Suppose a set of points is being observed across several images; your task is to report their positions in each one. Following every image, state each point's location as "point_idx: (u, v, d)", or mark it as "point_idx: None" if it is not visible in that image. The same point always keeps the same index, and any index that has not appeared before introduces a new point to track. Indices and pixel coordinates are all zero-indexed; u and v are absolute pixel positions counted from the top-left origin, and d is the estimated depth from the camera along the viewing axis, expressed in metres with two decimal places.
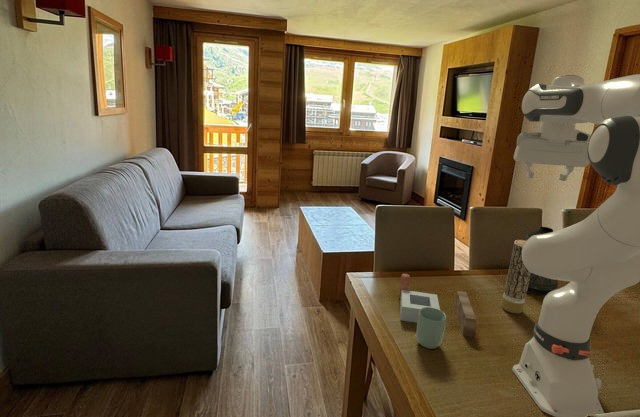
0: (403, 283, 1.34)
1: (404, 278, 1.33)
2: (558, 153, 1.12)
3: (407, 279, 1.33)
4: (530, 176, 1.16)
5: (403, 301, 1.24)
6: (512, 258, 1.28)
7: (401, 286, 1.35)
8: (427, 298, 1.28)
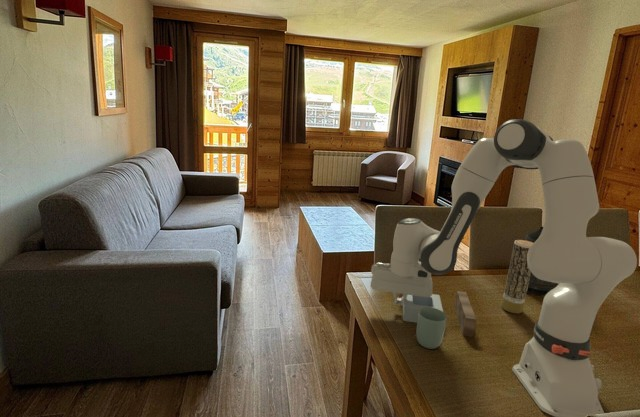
0: None
1: None
2: (405, 285, 1.23)
3: None
4: (396, 303, 1.26)
5: (406, 301, 1.24)
6: (512, 258, 1.28)
7: None
8: (429, 298, 1.28)
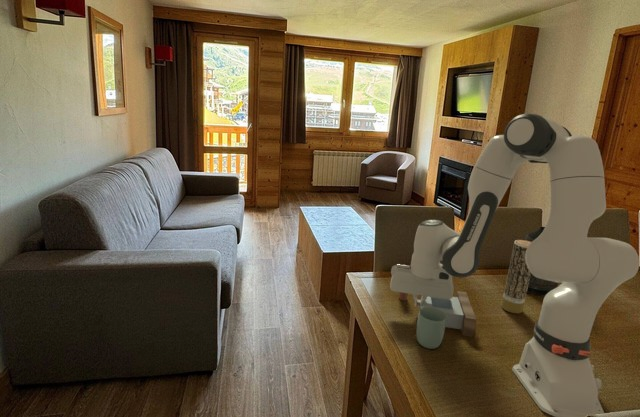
0: None
1: None
2: (425, 287, 1.22)
3: None
4: (416, 305, 1.25)
5: (425, 304, 1.23)
6: (512, 258, 1.28)
7: None
8: (448, 301, 1.27)
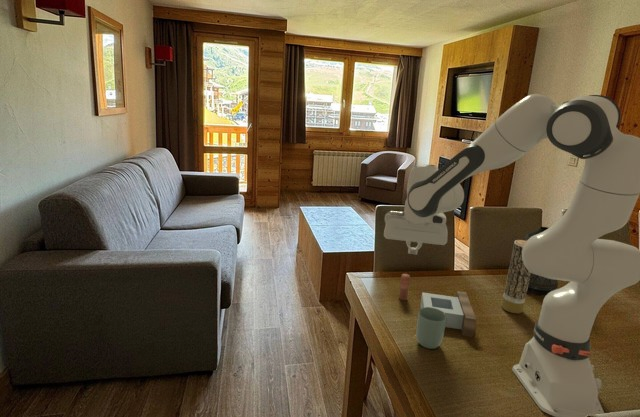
0: (403, 283, 1.34)
1: (404, 278, 1.33)
2: (419, 232, 1.21)
3: (407, 279, 1.33)
4: (410, 253, 1.24)
5: (425, 304, 1.23)
6: (512, 258, 1.28)
7: (401, 286, 1.35)
8: (448, 301, 1.27)
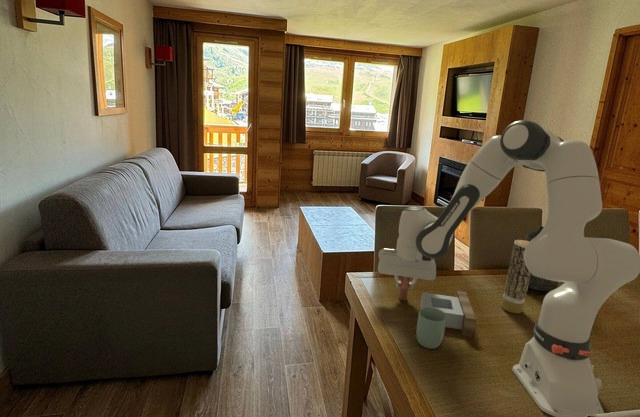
0: (403, 283, 1.34)
1: (404, 278, 1.33)
2: (410, 268, 1.32)
3: (407, 279, 1.33)
4: (397, 286, 1.35)
5: (425, 304, 1.23)
6: (512, 258, 1.28)
7: (401, 286, 1.35)
8: (448, 301, 1.27)
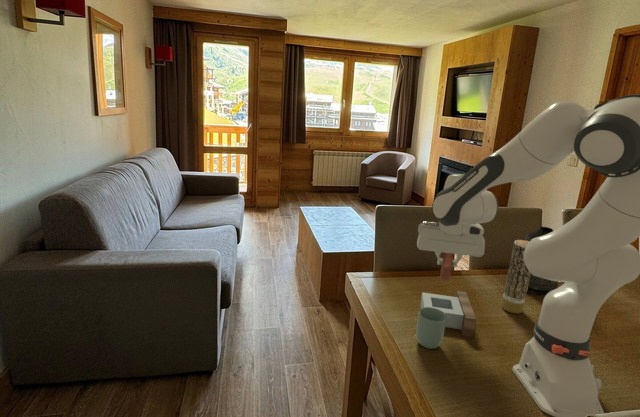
0: (446, 260, 1.19)
1: (447, 255, 1.19)
2: (455, 244, 1.17)
3: (451, 256, 1.19)
4: (439, 264, 1.20)
5: (425, 304, 1.23)
6: (512, 258, 1.28)
7: (443, 264, 1.20)
8: (448, 301, 1.27)
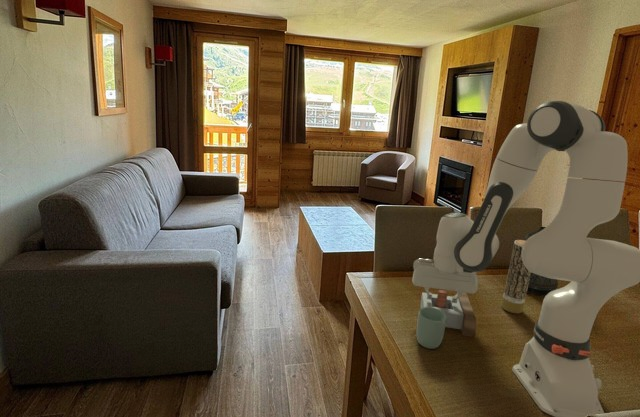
0: (440, 300, 1.23)
1: (441, 295, 1.22)
2: (449, 280, 1.20)
3: (444, 296, 1.22)
4: (428, 298, 1.24)
5: (425, 304, 1.23)
6: (512, 258, 1.28)
7: (438, 304, 1.24)
8: (448, 301, 1.27)
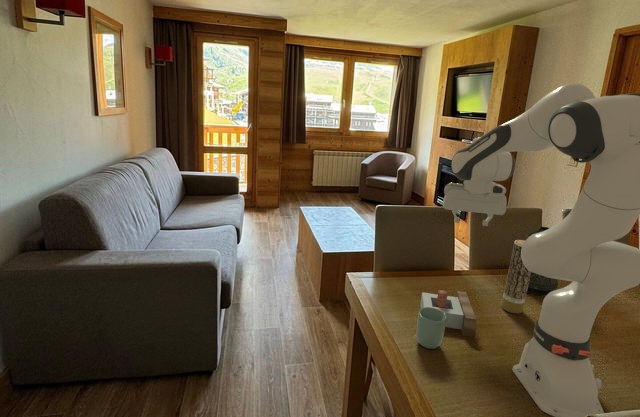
0: (440, 300, 1.23)
1: (441, 295, 1.22)
2: (478, 203, 1.27)
3: (445, 296, 1.22)
4: (456, 222, 1.31)
5: (425, 304, 1.23)
6: (512, 258, 1.28)
7: (438, 304, 1.24)
8: (448, 301, 1.27)
